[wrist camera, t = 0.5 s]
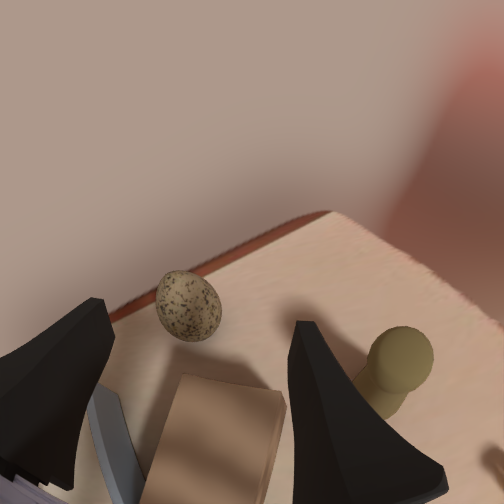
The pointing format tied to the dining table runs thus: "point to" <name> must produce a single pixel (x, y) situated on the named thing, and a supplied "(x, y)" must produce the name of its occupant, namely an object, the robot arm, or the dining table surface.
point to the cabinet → (216, 444)
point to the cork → (394, 368)
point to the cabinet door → (114, 447)
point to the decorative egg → (188, 306)
